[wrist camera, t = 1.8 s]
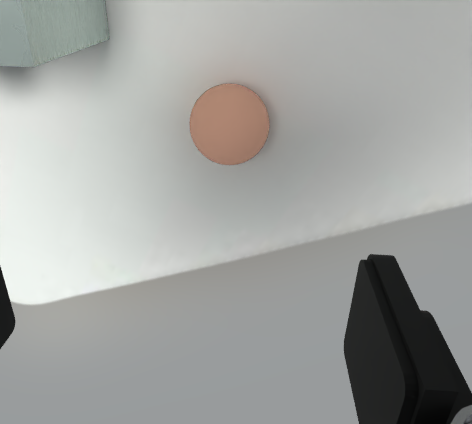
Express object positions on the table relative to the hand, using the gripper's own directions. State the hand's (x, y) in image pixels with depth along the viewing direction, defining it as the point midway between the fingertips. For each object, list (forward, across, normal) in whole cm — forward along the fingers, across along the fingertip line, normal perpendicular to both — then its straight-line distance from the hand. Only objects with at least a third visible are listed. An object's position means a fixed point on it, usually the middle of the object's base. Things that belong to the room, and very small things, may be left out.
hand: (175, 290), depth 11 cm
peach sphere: (+17, 0, 0) cm, 17 cm away
